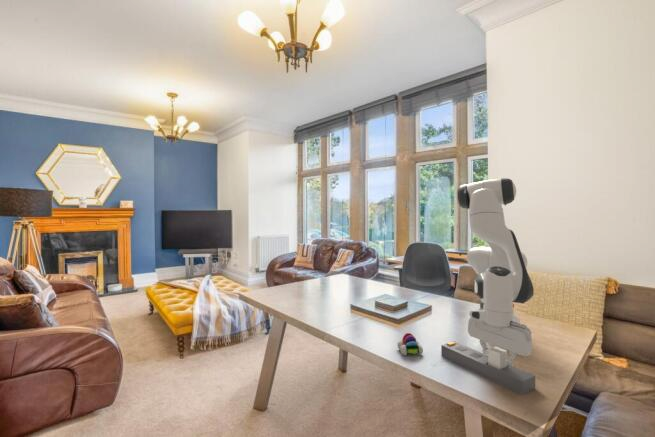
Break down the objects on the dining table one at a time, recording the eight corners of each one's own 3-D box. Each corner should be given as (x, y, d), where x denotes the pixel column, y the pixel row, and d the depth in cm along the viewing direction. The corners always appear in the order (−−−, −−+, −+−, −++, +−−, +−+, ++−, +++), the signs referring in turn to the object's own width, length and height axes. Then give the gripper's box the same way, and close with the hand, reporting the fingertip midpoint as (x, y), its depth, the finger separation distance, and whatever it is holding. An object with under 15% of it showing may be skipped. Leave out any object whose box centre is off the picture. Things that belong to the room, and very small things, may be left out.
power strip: (453, 353, 125) (453, 339, 125) (535, 391, 99) (535, 373, 99) (441, 358, 122) (441, 343, 122) (522, 398, 96) (522, 379, 96)
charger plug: (495, 372, 109) (495, 346, 109) (506, 377, 106) (507, 350, 105) (488, 375, 107) (488, 348, 107) (499, 381, 104) (500, 353, 103)
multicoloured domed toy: (416, 347, 132) (416, 329, 132) (424, 358, 122) (424, 339, 122) (396, 347, 132) (396, 330, 131) (402, 358, 122) (402, 339, 122)
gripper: (536, 325, 98) (536, 369, 99) (476, 307, 116) (476, 345, 116) (525, 329, 95) (524, 375, 96) (465, 310, 113) (464, 349, 113)
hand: (497, 358), depth 106 cm, fingers open, 7 cm apart
